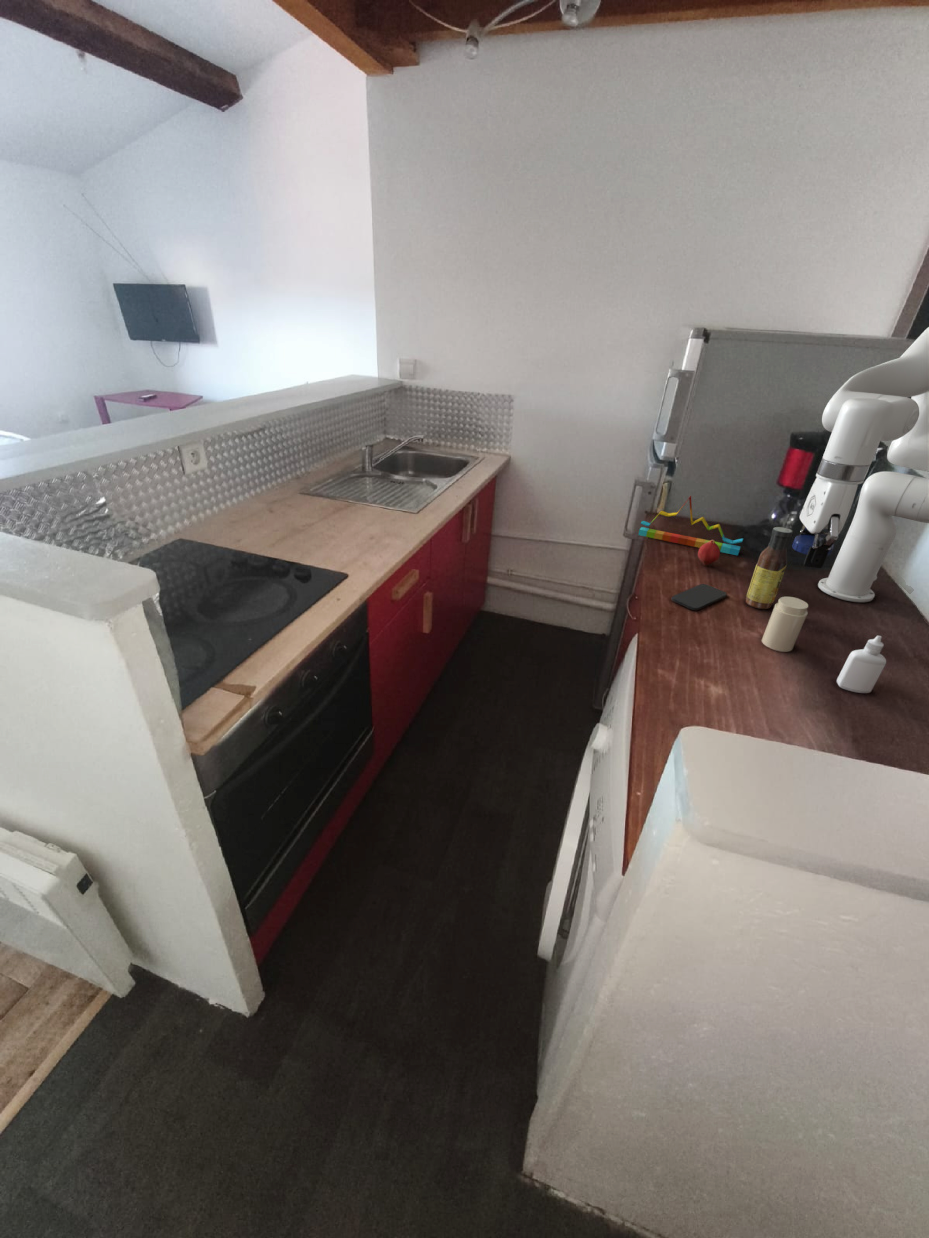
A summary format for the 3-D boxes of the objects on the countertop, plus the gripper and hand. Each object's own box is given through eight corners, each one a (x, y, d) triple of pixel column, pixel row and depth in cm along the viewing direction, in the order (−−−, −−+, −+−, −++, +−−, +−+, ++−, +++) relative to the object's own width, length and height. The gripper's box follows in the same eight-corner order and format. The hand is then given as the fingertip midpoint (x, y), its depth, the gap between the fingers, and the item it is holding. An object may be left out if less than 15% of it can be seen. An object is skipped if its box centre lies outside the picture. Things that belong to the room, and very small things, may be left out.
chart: (738, 552, 159) (753, 505, 151) (737, 555, 156) (752, 508, 149) (640, 532, 172) (649, 488, 164) (638, 535, 169) (647, 490, 162)
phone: (729, 593, 132) (696, 609, 124) (728, 596, 133) (695, 612, 125) (703, 583, 137) (669, 597, 129) (702, 585, 138) (669, 600, 130)
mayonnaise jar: (772, 634, 117) (788, 593, 112) (798, 647, 112) (816, 605, 107) (755, 640, 115) (771, 599, 109) (781, 654, 110) (799, 612, 104)
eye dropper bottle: (866, 699, 97) (894, 647, 91) (833, 685, 101) (858, 634, 95) (872, 689, 100) (900, 638, 94) (839, 676, 103) (864, 626, 97)
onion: (692, 560, 152) (699, 535, 148) (713, 561, 152) (720, 536, 148) (697, 568, 148) (705, 542, 143) (718, 570, 147) (726, 544, 143)
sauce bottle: (774, 611, 126) (803, 536, 116) (747, 608, 127) (774, 533, 117) (766, 599, 132) (793, 526, 122) (741, 596, 133) (765, 524, 123)
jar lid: (812, 558, 99) (816, 549, 98) (783, 545, 105) (787, 536, 104) (838, 554, 101) (842, 545, 100) (809, 541, 106) (812, 533, 105)
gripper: (806, 458, 103) (777, 541, 112) (833, 481, 88) (797, 574, 97) (849, 461, 101) (815, 545, 110) (883, 486, 86) (841, 580, 96)
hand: (807, 558), depth 104 cm, fingers closed on jar lid, 6 cm apart
